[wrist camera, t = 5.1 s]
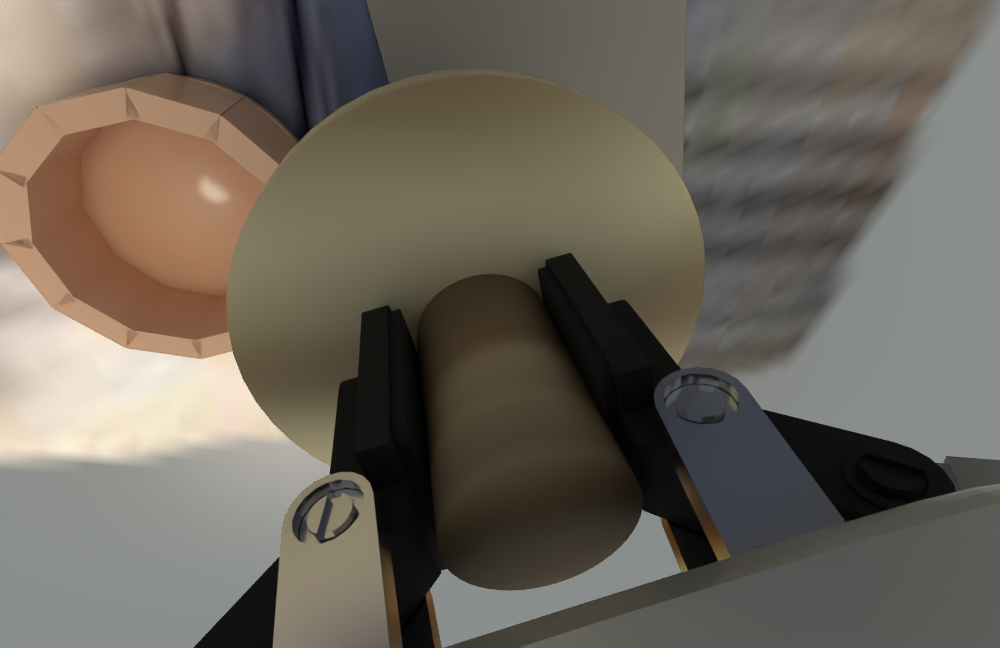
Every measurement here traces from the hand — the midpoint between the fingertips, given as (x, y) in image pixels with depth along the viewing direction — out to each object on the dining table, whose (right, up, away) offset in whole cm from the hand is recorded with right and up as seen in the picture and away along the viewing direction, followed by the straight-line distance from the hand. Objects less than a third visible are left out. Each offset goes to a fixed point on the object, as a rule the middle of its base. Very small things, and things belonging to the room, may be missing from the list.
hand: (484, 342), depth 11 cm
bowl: (-14, +6, +13) cm, 20 cm away
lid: (0, +1, +1) cm, 2 cm away
